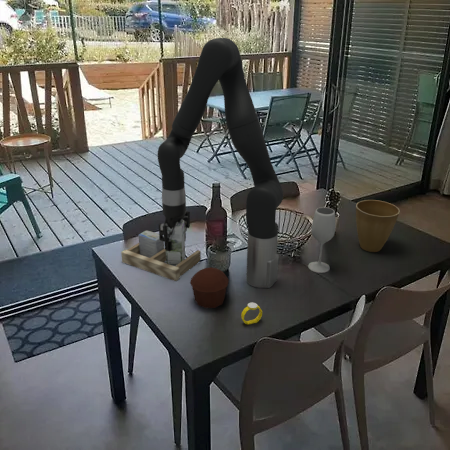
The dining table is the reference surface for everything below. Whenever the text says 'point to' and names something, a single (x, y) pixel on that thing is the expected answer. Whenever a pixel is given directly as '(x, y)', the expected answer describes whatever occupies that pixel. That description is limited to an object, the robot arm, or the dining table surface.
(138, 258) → the wooden tray
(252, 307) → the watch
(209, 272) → the muffin
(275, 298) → the dining table surface
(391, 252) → the dining table surface
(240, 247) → the dining table surface
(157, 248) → the medicine box
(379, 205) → the plant pot
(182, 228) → the syrup box
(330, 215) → the wineglass
